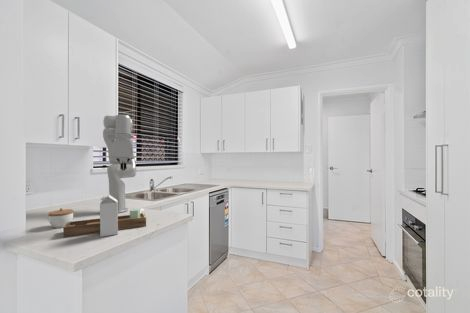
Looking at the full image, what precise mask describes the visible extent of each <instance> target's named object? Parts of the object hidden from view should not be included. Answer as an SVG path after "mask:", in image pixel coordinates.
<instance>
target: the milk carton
mask: <svg viewBox="0 0 470 313" xmlns="http://www.w3.org/2000/svg"><path fill="white" fill-rule="evenodd" d="M118 216H119V213H118V200H117V199H115V198H114V197H112V196H111V195H109V193H108V194H107V196H104V195H103V197H101V198H100V203H99V218H100V233H99V235H100V237H99V238H103V237H107V236H108V237H109V236H116V235H118V234H119V230H118Z"/></svg>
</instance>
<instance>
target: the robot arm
mask: <svg viewBox="0 0 470 313" xmlns="http://www.w3.org/2000/svg"><path fill="white" fill-rule="evenodd" d="M102 121H103V126H104V129H103V131H102V138H103V141H104V143H105V146H106V147H107V154H108V161H109V165H108V166H107V168H106V169H107V170H106V172H107V177H108V178H107V180H108V194H109V195H111V196H112V197H114V198H115V199H117V200H118V214H122V213H126V212H127V211H129V208H128V207H126V185H125V182H124V181H123V180H122V179H127V178H134V177H136V176H137V167H136V166H137V165H136V159H135V154H134V145H133V143H134V142H133V139H134V135H132V132H133V125H134V124H133V119H132V118H131V116H129V115H127V114H116V115H105V116H104V118H103V120H102Z"/></svg>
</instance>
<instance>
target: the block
mask: <svg viewBox="0 0 470 313" xmlns="http://www.w3.org/2000/svg"><path fill="white" fill-rule="evenodd" d="M140 209H141V208H132V209H131V210H129V215H130V219H136V218H140Z"/></svg>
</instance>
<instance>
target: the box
mask: <svg viewBox="0 0 470 313" xmlns="http://www.w3.org/2000/svg"><path fill="white" fill-rule="evenodd" d="M143 227H147V217H146V214H145V213H142V214H140V218H136V219H130V214H128V215H127V214H126V215H125V214H124V215H118V231H120V230H121V231H122V230H127V229H134V228H136V229H137V228H143ZM62 228H63V230H62V231H63V232H62V233H63V236H62V237H63V238H71V237H77V236H78V237H79V236H85V235H91V234H92V235H93V234H100V217H99V218H93V219H91V218H90V219H82V220H75V221H73V220H72V222H68V223H67V224H66V225H65V226H64V227H62Z"/></svg>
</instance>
